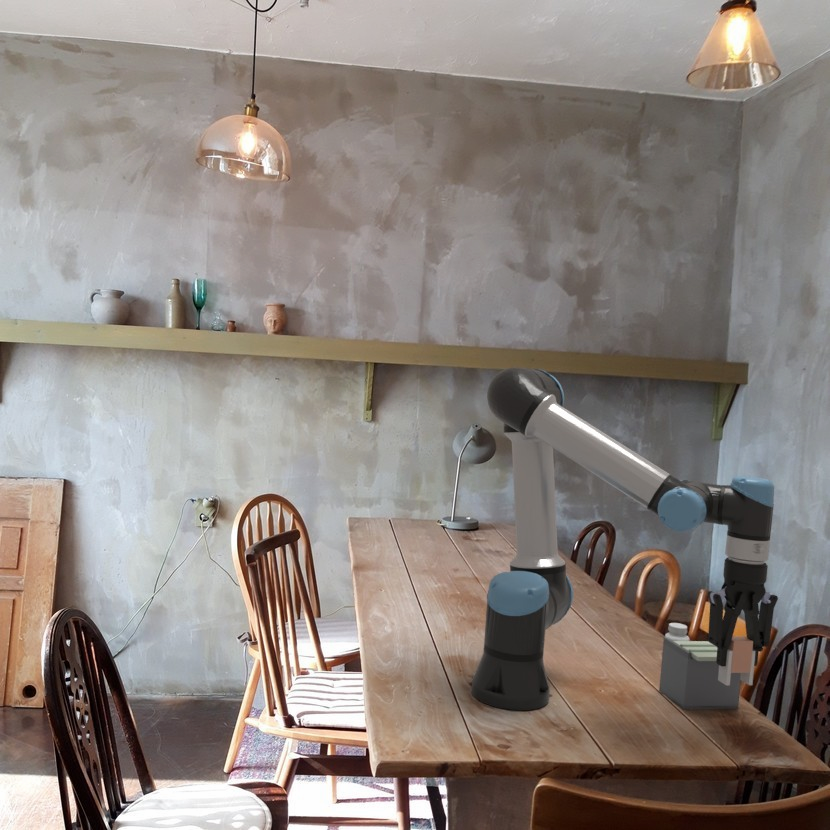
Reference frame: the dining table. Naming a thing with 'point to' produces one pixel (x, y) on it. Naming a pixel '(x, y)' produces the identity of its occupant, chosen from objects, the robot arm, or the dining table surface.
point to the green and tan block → (709, 652)
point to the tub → (695, 681)
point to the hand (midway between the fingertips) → (735, 682)
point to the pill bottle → (677, 632)
